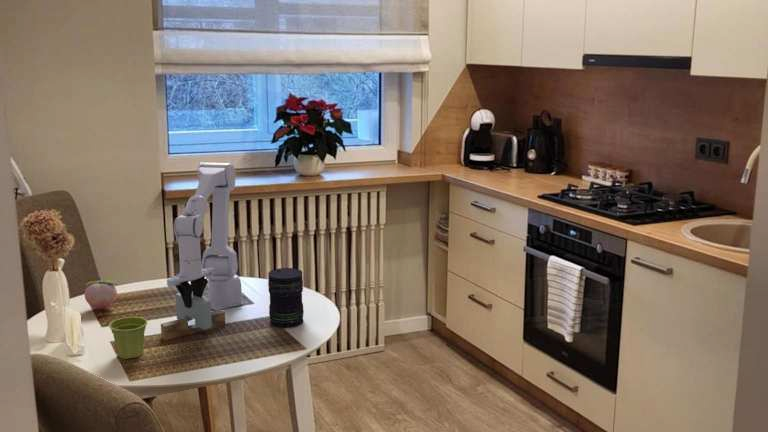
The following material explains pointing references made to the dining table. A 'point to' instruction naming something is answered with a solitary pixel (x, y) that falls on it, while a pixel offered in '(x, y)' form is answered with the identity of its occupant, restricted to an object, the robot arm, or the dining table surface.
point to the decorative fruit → (100, 293)
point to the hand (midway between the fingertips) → (192, 305)
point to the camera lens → (285, 298)
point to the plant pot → (129, 336)
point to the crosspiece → (195, 311)
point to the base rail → (182, 328)
